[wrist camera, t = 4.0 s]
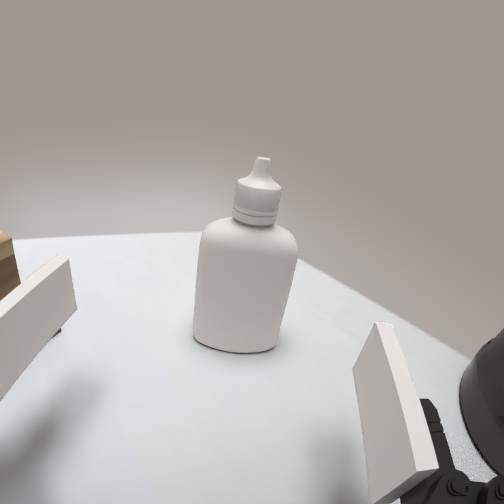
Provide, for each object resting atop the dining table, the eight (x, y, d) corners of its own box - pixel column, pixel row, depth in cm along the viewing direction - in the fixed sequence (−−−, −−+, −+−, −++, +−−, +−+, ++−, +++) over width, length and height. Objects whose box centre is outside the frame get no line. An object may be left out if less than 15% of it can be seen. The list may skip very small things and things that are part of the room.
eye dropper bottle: (217, 306, 23) (238, 147, 18) (283, 336, 21) (325, 168, 16) (182, 335, 20) (194, 150, 15) (255, 373, 18) (300, 175, 13)
